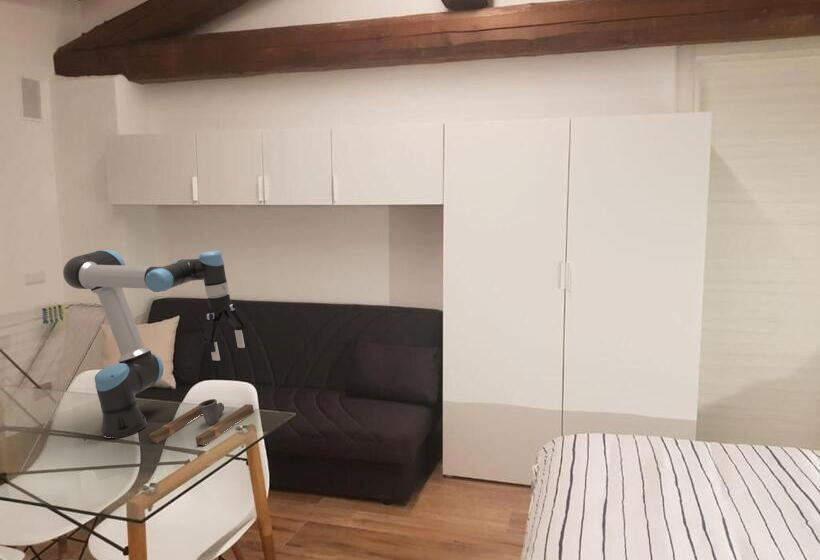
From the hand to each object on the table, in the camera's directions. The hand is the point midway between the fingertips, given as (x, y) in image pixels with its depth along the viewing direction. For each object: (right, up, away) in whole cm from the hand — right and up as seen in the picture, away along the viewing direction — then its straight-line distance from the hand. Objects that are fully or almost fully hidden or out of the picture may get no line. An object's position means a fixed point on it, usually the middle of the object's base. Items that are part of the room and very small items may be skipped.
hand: (229, 353), depth 234 cm
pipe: (-6, -24, +3) cm, 25 cm away
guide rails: (-8, -25, -2) cm, 27 cm away
